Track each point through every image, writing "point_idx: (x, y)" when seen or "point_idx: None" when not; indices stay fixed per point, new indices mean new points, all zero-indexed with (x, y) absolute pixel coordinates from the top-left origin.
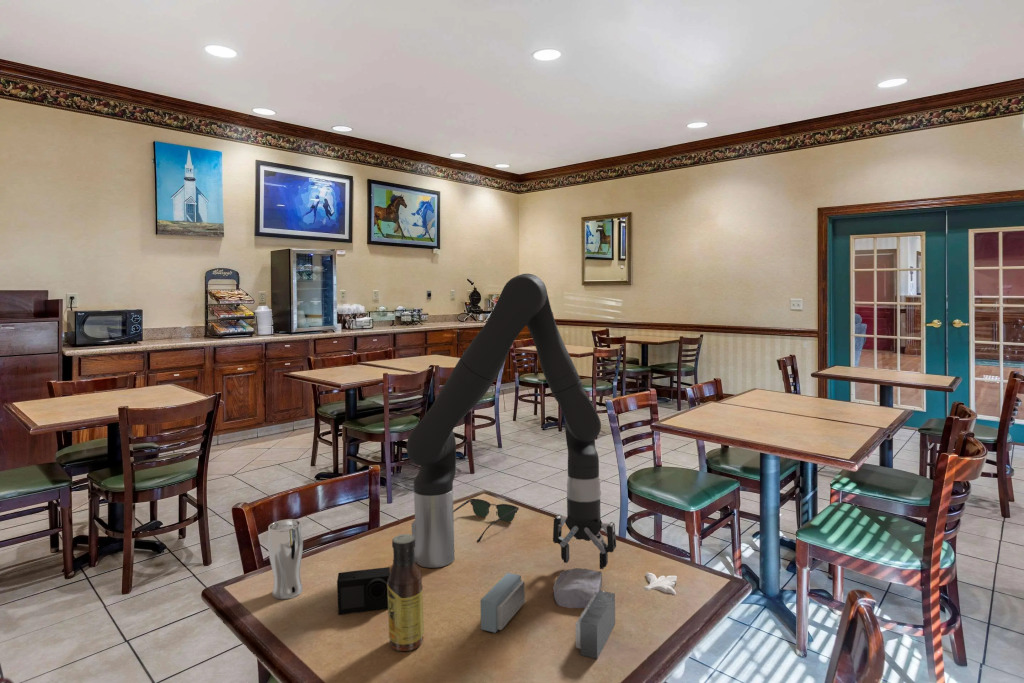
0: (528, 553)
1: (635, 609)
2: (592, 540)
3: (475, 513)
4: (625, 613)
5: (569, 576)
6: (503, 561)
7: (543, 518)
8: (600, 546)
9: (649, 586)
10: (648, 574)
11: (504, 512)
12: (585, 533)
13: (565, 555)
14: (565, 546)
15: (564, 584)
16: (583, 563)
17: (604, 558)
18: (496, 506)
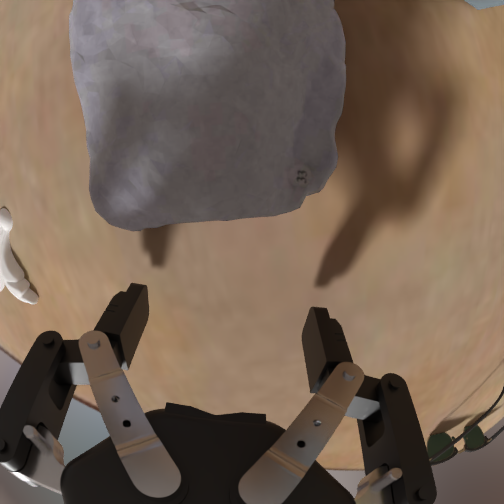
0: (429, 353)
1: (6, 67)
2: (130, 399)
3: (476, 426)
4: (28, 25)
5: (268, 111)
6: (498, 288)
7: None
8: (97, 364)
9: (2, 229)
10: (16, 287)
11: (442, 447)
12: (186, 452)
13: (323, 329)
14: (331, 370)
15: (279, 6)
16: (246, 345)
17: (108, 318)
18: (457, 450)
